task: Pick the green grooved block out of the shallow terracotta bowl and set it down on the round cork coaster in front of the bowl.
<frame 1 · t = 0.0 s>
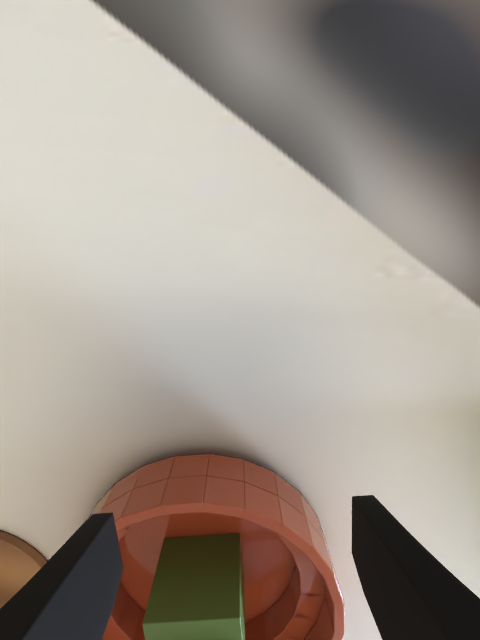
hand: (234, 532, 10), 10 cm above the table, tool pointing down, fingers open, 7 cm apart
green grooved block: (204, 560, 22), point 1 cm above the table, touching bowl
bowl: (205, 552, 22), on the table
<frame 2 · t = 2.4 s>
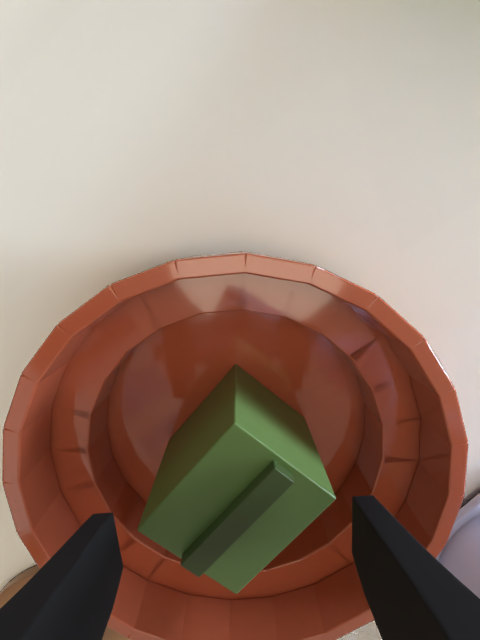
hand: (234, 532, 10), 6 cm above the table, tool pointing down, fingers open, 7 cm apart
green grooved block: (236, 428, 15), point 1 cm above the table, touching bowl
coaster: (87, 634, 19), on the table
bowl: (236, 422, 16), on the table
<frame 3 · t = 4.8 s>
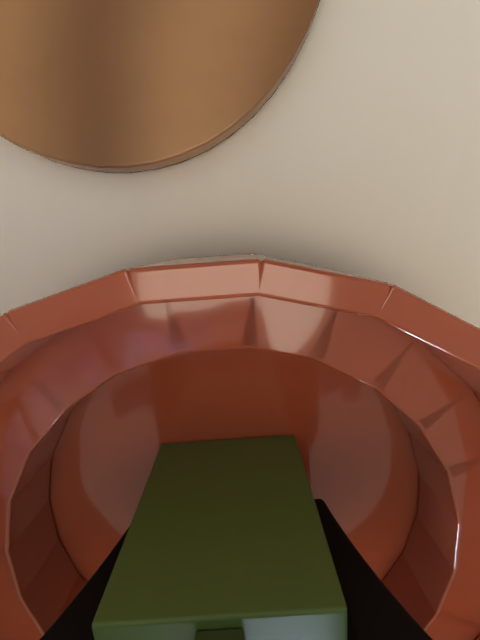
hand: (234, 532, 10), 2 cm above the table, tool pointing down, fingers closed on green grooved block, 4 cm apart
green grooved block: (233, 505, 11), point 1 cm above the table, touching bowl, gripper
bowl: (235, 492, 11), on the table
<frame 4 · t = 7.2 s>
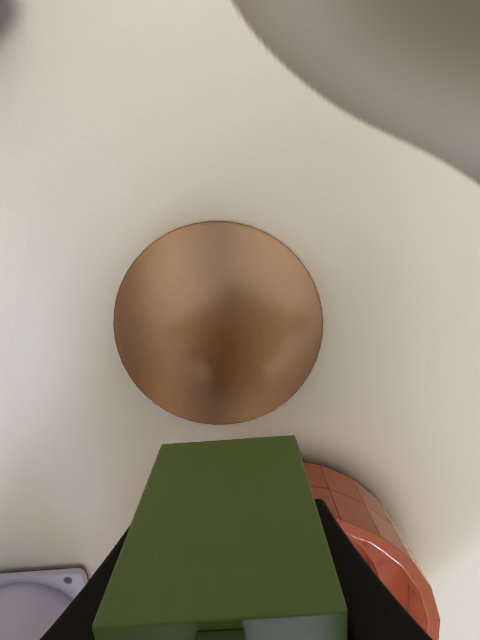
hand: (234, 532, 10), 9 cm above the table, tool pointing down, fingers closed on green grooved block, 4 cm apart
green grooved block: (234, 506, 11), point 8 cm above the table, touching gripper
coaster: (219, 327, 17), on the table
bowl: (272, 563, 21), on the table
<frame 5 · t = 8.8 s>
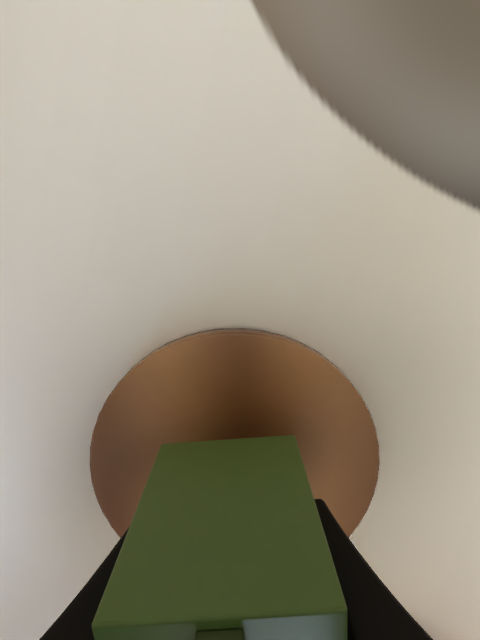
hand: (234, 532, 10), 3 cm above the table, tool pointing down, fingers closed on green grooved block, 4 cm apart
green grooved block: (233, 506, 11), point 2 cm above the table, touching gripper
coaster: (235, 462, 13), on the table
when the fingers open (2 cm above the table, at t = 9.8 s): green grooved block stays where it is, resting on coaster.
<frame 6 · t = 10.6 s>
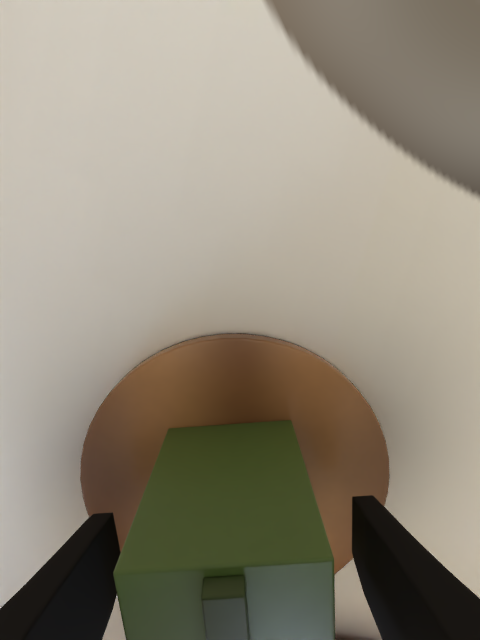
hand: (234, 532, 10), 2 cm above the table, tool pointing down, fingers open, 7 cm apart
green grooved block: (235, 486, 11), point 1 cm above the table, touching coaster
coaster: (235, 475, 12), on the table
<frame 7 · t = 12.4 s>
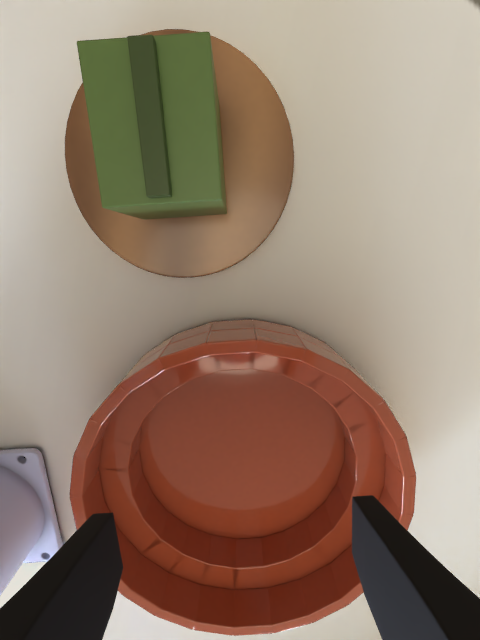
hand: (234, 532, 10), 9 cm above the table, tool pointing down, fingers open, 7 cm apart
green grooved block: (179, 162, 15), point 1 cm above the table, touching coaster
coaster: (181, 165, 16), on the table
bowl: (242, 447, 20), on the table
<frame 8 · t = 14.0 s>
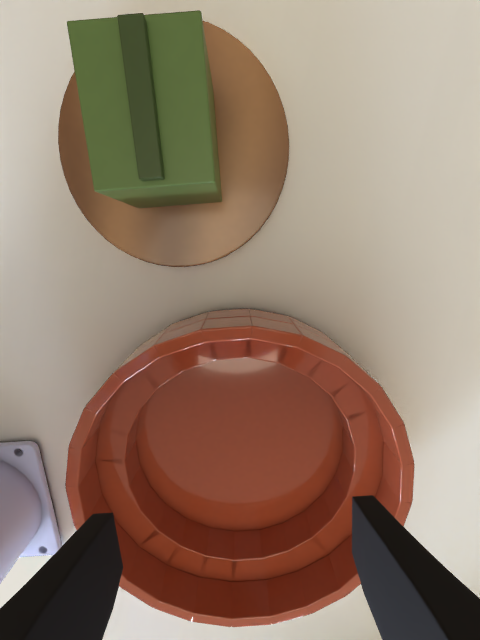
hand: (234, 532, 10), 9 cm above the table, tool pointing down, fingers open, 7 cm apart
green grooved block: (173, 150, 15), point 1 cm above the table, touching coaster
coaster: (176, 153, 16), on the table
bowl: (239, 439, 19), on the table
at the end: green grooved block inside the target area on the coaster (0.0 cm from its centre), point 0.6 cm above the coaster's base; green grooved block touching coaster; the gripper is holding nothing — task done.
